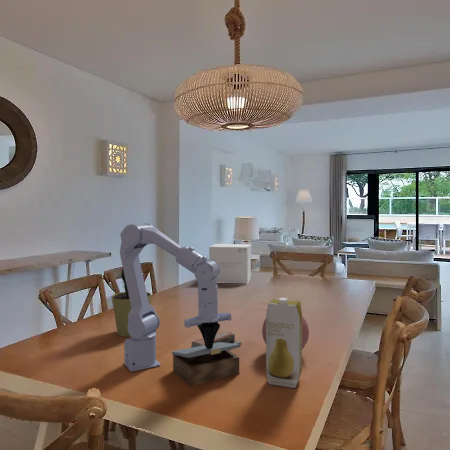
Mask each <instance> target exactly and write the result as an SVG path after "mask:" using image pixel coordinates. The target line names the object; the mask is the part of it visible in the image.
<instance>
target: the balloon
mask: <svg viewBox="0 0 450 450" xmlns="http://www.w3.org/2000/svg"><path fill="white" fill-rule="evenodd" d="M261 328H262V329H261V334H262V338H263V341H264V344H266V318H265V319H264V321H263V323H262V327H261ZM309 330H310V329H309V325H308V323H307V320H306V318H305V317H304V315H302V350H303V349H304V348H305V346H306V344H308V341H309V337H310V336H309V334H310V331H309Z"/></svg>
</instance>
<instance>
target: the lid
mask: <svg viewBox="0 0 450 450" xmlns="http://www.w3.org/2000/svg"><path fill="white" fill-rule="evenodd" d="M238 348H241V345H240V344H232V343H223V342H218V343H213V348H211V349H207V348H206V347H205V345H203V346H198V347H193V348H191V347H188V348H182V349H178V350H172V351H171V354H172V356H173V355H178V356H183V357H187V358H190V357H195V356H200V355H205V354H209V353H210V354H211V355H213V354H218V353H221V351H224V350H229V349H231V350H235V349H238ZM229 351H230V350H229Z"/></svg>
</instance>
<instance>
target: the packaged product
mask: <svg viewBox="0 0 450 450" xmlns="http://www.w3.org/2000/svg"><path fill="white" fill-rule="evenodd" d="M235 337H236V335H235V333H233V332H231V331H220V332H217V334H216V336H215V339H214V343H218V342H223V343H232V344H240V346H241V345H242V341H240V340H239V341H238V340H235ZM203 345H205V343H204V339H203V337H201V338H200V339H196V340H194V341H192V342H191V346H190V348H193V347H198V346H203ZM231 350H232V349H229V351H231Z"/></svg>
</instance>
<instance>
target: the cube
mask: <svg viewBox="0 0 450 450" xmlns="http://www.w3.org/2000/svg"><path fill="white" fill-rule="evenodd" d="M251 247H252V244H250V243H249V244H248V243H247V244H246V243H244V244H243V243H214V244H212V245H210V246H209V247H208V248H209V249H208V250H209V251H208V252H209V254H208V260H209V259H213V260H215V261H216V262H217V263H218V265H219V267H220V273H219V275H218V276H217V277H216V278H217V282H224V283H247V284H248V285H249V283H248V282H250V281H251V279H252V266H251V265H252V254H251V253H252V248H251ZM250 278H251V279H250ZM212 280H213V279H212ZM249 280H250V281H249Z"/></svg>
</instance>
